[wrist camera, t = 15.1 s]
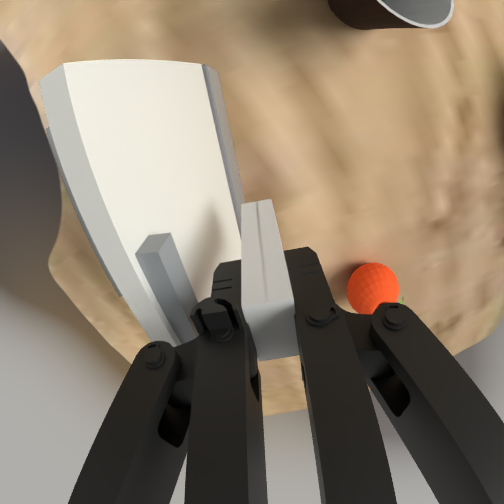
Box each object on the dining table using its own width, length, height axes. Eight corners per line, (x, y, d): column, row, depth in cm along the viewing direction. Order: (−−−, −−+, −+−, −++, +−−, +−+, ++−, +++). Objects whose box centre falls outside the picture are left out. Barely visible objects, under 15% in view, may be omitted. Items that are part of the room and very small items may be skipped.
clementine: (399, 254, 34) (423, 288, 28) (381, 292, 38) (399, 327, 32) (349, 250, 33) (369, 287, 27) (334, 291, 37) (348, 330, 31)
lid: (38, 81, 4) (87, 47, 4) (185, 68, 13) (214, 60, 13) (212, 419, 14) (242, 422, 13) (240, 288, 23) (261, 287, 23)
